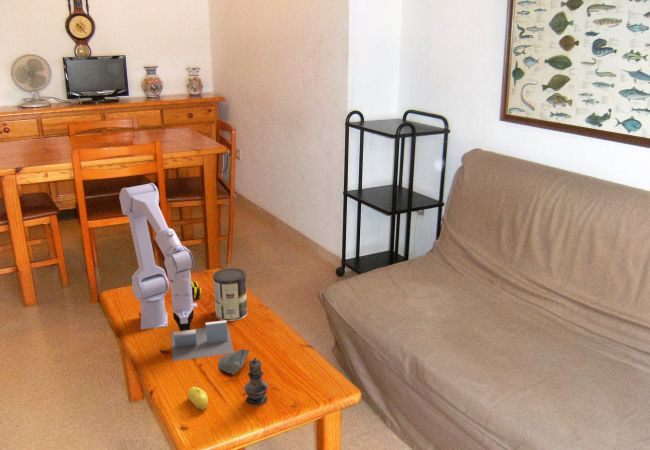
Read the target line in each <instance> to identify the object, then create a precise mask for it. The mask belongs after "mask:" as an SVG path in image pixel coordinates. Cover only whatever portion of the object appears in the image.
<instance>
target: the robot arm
mask: <svg viewBox="0 0 650 450" xmlns="http://www.w3.org/2000/svg"><path fill="white" fill-rule="evenodd" d="M159 193H160V192H159V189H158V187H157V186H156V184H155V183H153V182H149V183H147V184H145V183H144V184H141V185H134V186H130V187H123V188H122V187H121V190H120V192H119V194H118V195H119V196H118V197H119V202H120V204H119V205H120V206H121V212H122V215H124V216H127V218H128V222H129V227H130V231H131V236H132V241H133V247H134V250H135V255H136V259H137V264H138V268H137V270H136V271H135V272H134V273H133V274H132V276H131V284H132V285H131V290H132V294H133V296H134V297H135V299H137V300H138V301H139V305H140V314H141V318H140V329H141V330H147V329H157V328H166V327H168V326H169V325H168V324H169V322H168V312H166V304H165V297H167V293H168V292H169V290H170V294H171V295H170V296H171V304H172V305H171V311H172V312H173V313H172V315H173V317H172V318H173V320H174V321H175V322H176V324H177V326H178V329H179V330H178V331H186V330H191V325H192V324H191V323H192V321H193V319H194V315H195V313H194V309H197V308H198V303H197V302H194V299H193V298H192V285H191V281H192V277H191V276H192V274H191V269H193V268H194V265H195V261H194V256H193V254H192V251H191V250H190V249H188V248H187V247H186V246H185V245H183V244H182V243H181V240H180V238H179V236H178V235H177V233H176V231H175V230H174V229H173V228H170V227H169V226H168V224H167V222H166V219H165V217H164V215H163V212H162V210H161V208H160V205H159V203H160V194H159ZM148 223H149V224H150V226H151V227H152V229H153V231H154V232H155V233H156V235H155V238H154V240H155V242H156V243H157V246H158V248H159V250H161V251H160V252H161V253H162V254H163V257H164V261H163V263H164V266H165V269H164V268H162V267H160V266H158V265H157V264H156V259H155V256H154V255H155V254H154V251H153V244H152V241H151V236H150V231H149V225H148ZM165 270H166V271H165ZM166 273H167V274H166Z"/></svg>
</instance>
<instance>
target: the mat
mask: <svg viewBox="0 0 650 450" xmlns="http://www.w3.org/2000/svg"><path fill="white" fill-rule="evenodd" d="M194 329H196V342H197V345H193V346H185V347H177V348H175V339H174V332H177V331H178V330H176V331H171V332H170V334H171V337H170V338H171V359H172V362H178V361H185V360H192V359H198V358H199V359H200V358H207V357H214V356H222V355H223V356H225V355H229V354H232V353H234V352H235V351H234V347H233V342H232V339H231V338H232V337H231V334H230V329H229V325H228V324H227V335H228V341H224V342H216V343H209V344H207V338H206V327H201V328H194ZM194 329H191V330H194Z"/></svg>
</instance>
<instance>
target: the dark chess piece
mask: <svg viewBox="0 0 650 450" xmlns="http://www.w3.org/2000/svg"><path fill="white" fill-rule="evenodd" d="M248 366H249V369H248V370H249V372H248V374H247V375H248V377H249V382H248V383H246V384H245V385H244V387H243V389H244V391H245V393H246V395H247V396H246V397H245V401H246V404H248V405H249V406H252V407H258V406H259V407H260V406H263V405H264V404H266V403H267V401H268V396H267V395H266V394H267V392H268V389H269V384H268V382H265V381H263V375H264V372H263V371H262V361H261V360H259V359H257V358H256V357H254V358H253V359H252V360H250V361H249V365H248Z"/></svg>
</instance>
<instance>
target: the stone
mask: <svg viewBox="0 0 650 450" xmlns="http://www.w3.org/2000/svg"><path fill="white" fill-rule="evenodd" d="M249 353H250V350H249V349H238V350H237V351H234V353H231V354H224V355H223V356H222V355H221V357H219V360H218V364H217V368H218V369H219V370H220V371H224V372H225V373H227V374H230V375H232V376H234V375H235V374H236V373H238V372H240V371H241V370H242V368H243V366H244V364H245V362H246V359H247V357H248V355H249Z"/></svg>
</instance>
